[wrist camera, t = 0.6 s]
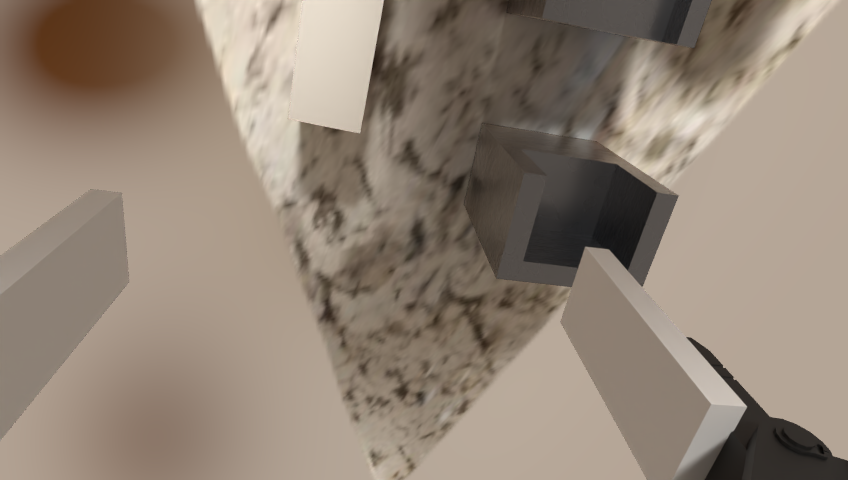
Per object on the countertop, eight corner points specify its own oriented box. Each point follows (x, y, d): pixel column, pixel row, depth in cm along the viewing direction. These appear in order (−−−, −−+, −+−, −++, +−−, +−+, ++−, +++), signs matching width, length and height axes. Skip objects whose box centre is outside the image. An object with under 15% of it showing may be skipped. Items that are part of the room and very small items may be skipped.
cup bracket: (482, 122, 36) (524, 172, 26) (596, 141, 37) (678, 195, 27) (463, 204, 38) (496, 278, 28) (572, 219, 40) (639, 294, 30)
